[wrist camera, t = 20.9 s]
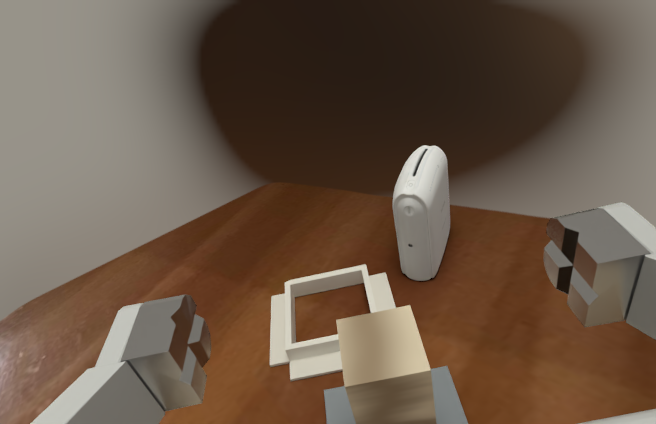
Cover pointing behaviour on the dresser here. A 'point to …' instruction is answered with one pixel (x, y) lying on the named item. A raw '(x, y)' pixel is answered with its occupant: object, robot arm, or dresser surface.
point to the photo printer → (422, 212)
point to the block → (386, 368)
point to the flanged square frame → (326, 350)
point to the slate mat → (444, 392)
